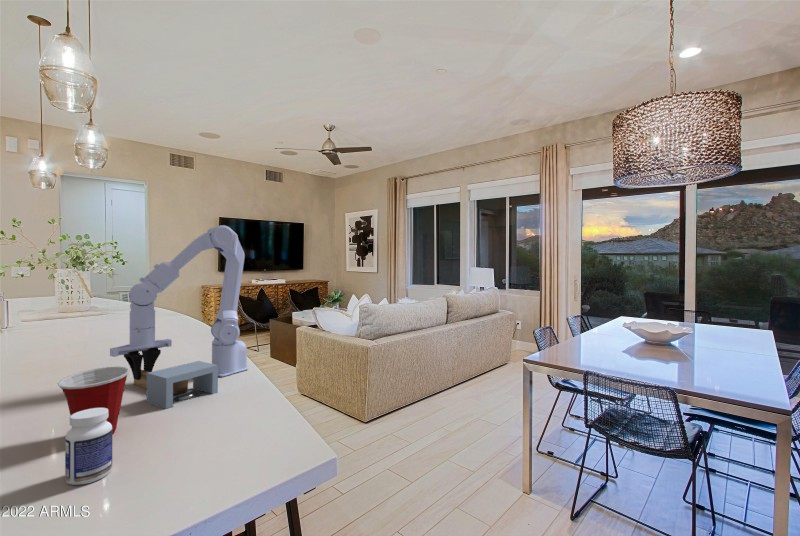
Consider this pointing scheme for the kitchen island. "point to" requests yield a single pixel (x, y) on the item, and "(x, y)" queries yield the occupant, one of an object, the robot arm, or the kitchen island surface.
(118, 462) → the kitchen island surface
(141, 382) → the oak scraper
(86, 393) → the plastic cup
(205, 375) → the low shelf
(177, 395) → the steel token
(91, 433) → the pill bottle
